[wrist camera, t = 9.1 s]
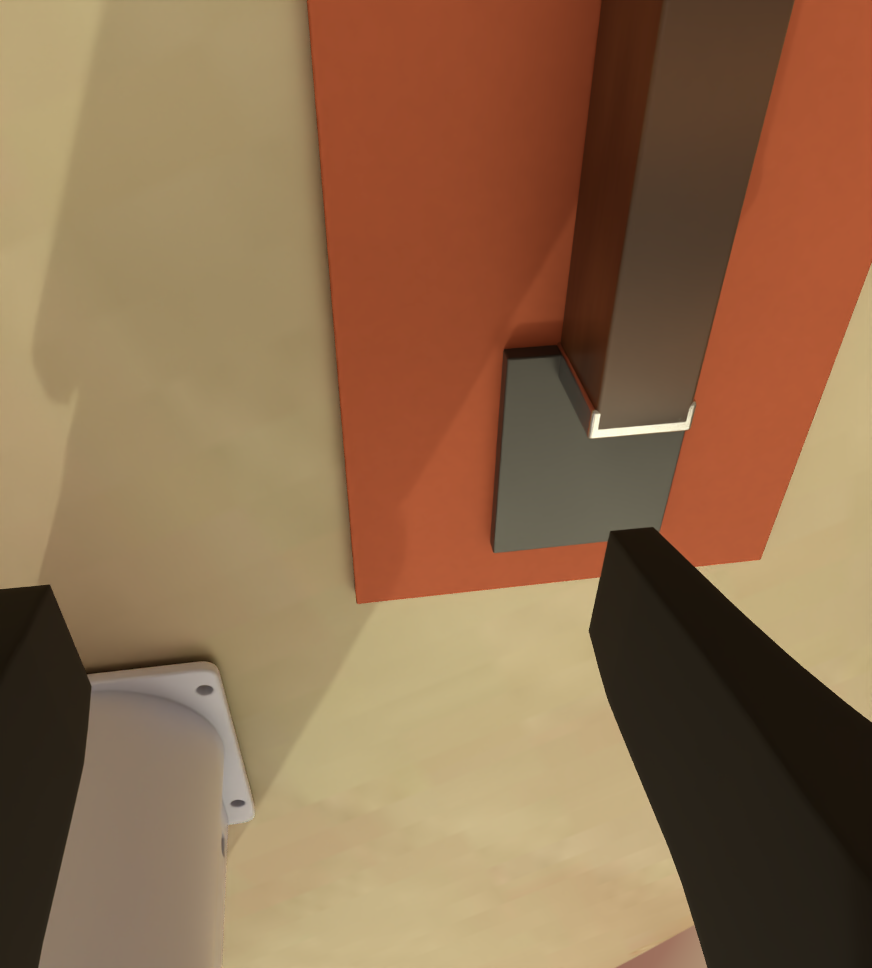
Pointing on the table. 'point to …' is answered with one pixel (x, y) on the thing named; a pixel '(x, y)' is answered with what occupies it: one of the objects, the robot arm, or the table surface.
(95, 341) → the table surface
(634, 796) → the table surface
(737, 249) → the mat
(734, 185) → the spatula
